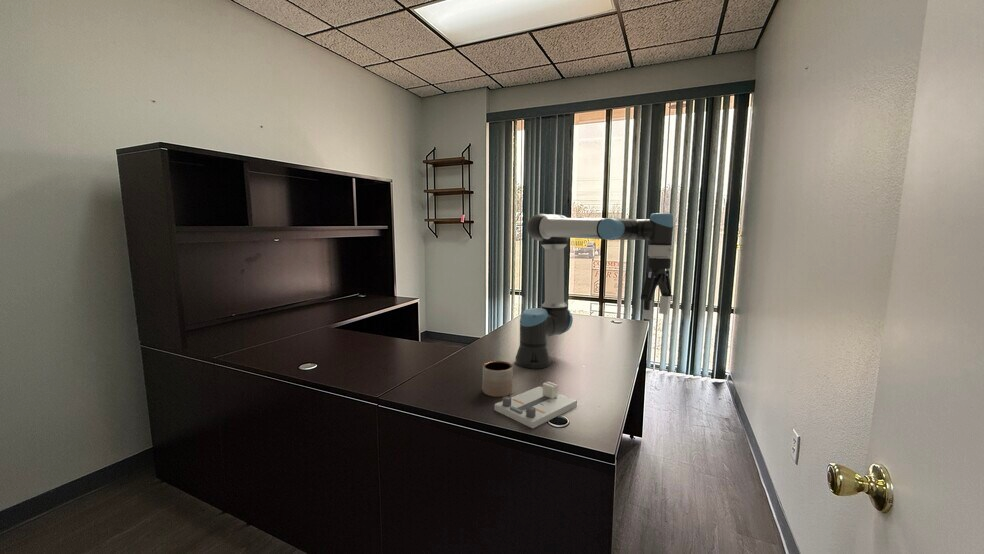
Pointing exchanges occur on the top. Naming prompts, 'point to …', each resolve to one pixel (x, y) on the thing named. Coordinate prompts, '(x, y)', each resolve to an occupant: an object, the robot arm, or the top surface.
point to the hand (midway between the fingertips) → (655, 316)
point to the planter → (497, 378)
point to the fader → (550, 390)
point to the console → (534, 407)
